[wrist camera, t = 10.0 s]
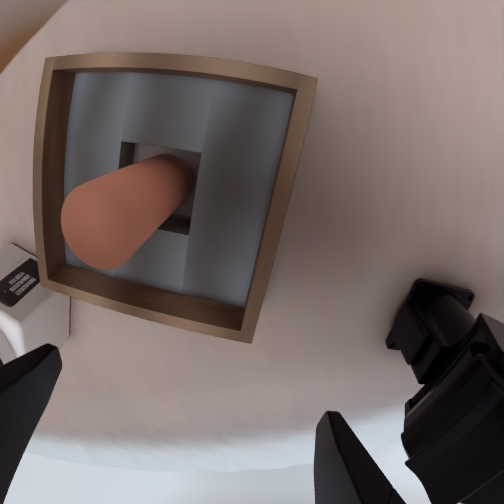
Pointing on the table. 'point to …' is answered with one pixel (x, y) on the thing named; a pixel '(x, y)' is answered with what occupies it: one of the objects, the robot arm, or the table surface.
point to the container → (28, 307)
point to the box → (207, 188)
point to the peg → (123, 209)
